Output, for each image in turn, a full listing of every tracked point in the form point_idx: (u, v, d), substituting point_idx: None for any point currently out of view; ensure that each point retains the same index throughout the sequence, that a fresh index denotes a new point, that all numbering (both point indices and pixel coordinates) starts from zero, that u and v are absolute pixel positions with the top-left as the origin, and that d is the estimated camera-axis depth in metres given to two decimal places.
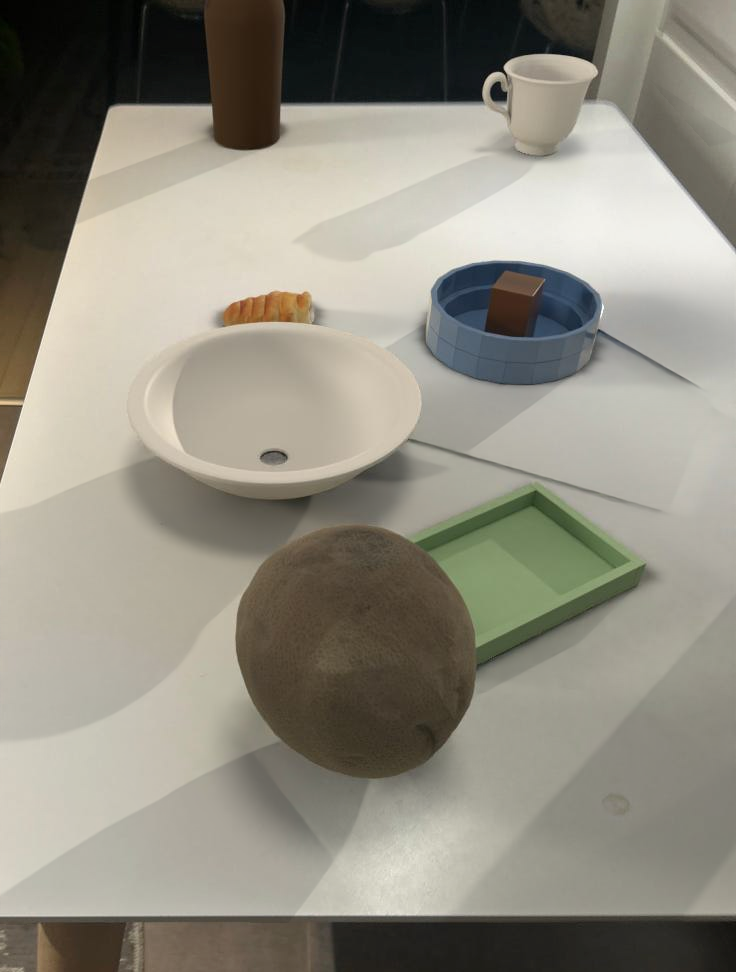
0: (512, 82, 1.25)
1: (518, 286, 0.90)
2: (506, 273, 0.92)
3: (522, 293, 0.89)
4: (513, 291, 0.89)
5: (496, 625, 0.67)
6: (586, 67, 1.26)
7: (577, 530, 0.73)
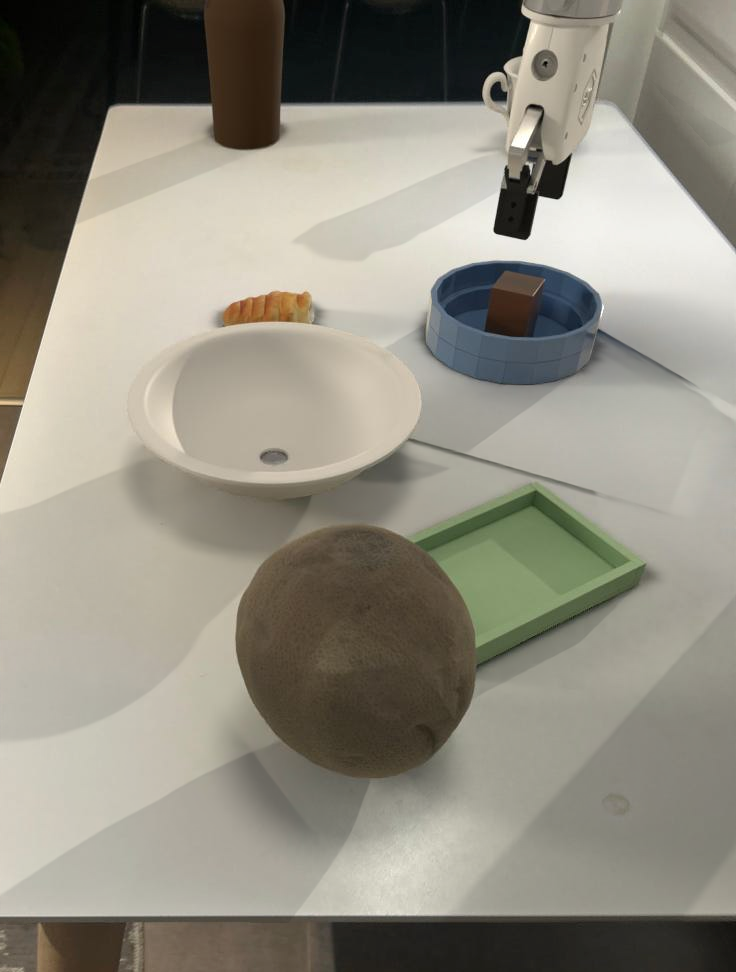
0: (512, 82, 1.25)
1: (518, 286, 0.90)
2: (506, 273, 0.92)
3: (522, 293, 0.89)
4: (513, 291, 0.89)
5: (496, 625, 0.67)
6: None
7: (577, 530, 0.73)
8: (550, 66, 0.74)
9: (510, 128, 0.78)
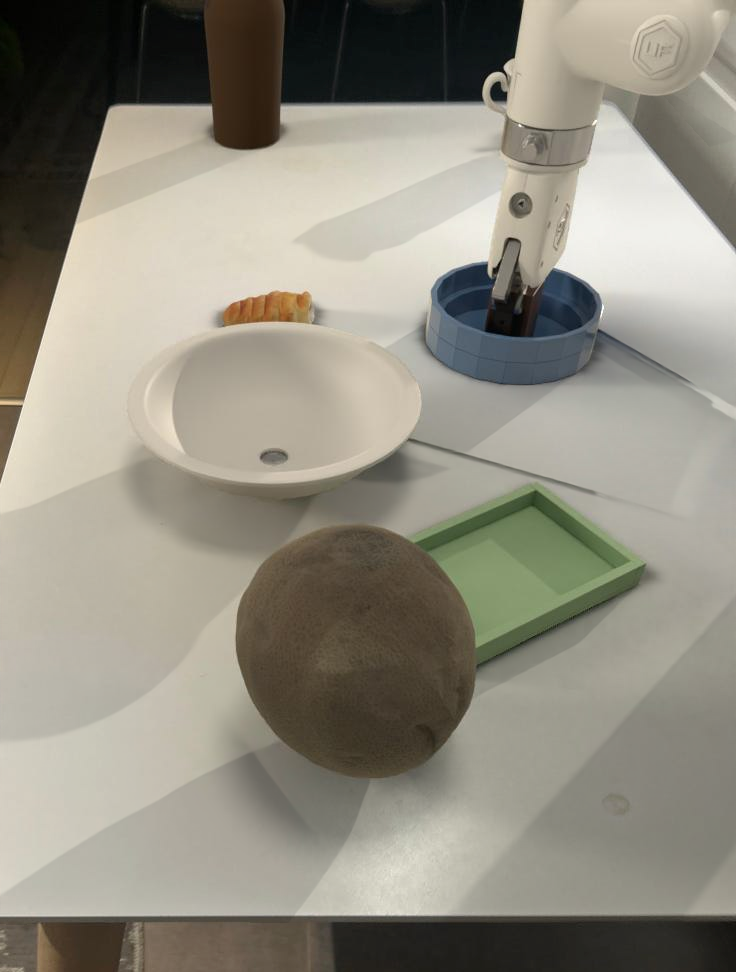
0: None
1: None
2: None
3: None
4: (513, 291, 0.89)
5: (496, 625, 0.67)
6: None
7: (577, 530, 0.73)
8: (526, 205, 0.82)
9: (491, 256, 0.85)
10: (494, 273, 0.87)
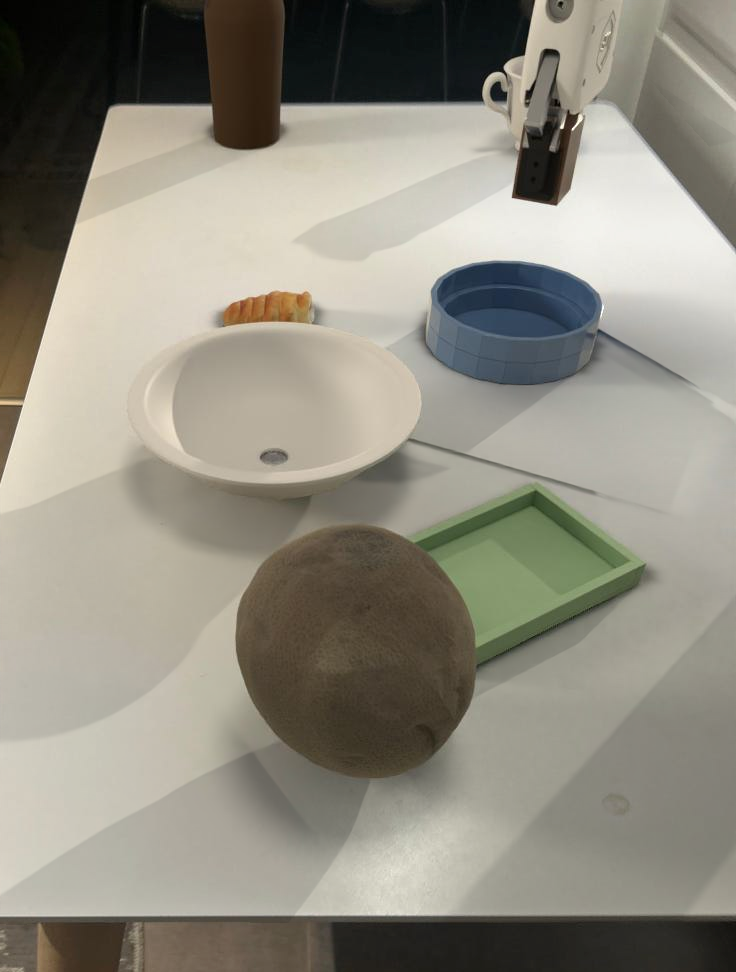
0: (512, 82, 1.25)
1: (554, 121, 0.78)
2: None
3: None
4: None
5: (496, 625, 0.67)
6: None
7: (577, 530, 0.73)
8: (566, 7, 0.70)
9: (524, 76, 0.73)
10: (527, 100, 0.75)
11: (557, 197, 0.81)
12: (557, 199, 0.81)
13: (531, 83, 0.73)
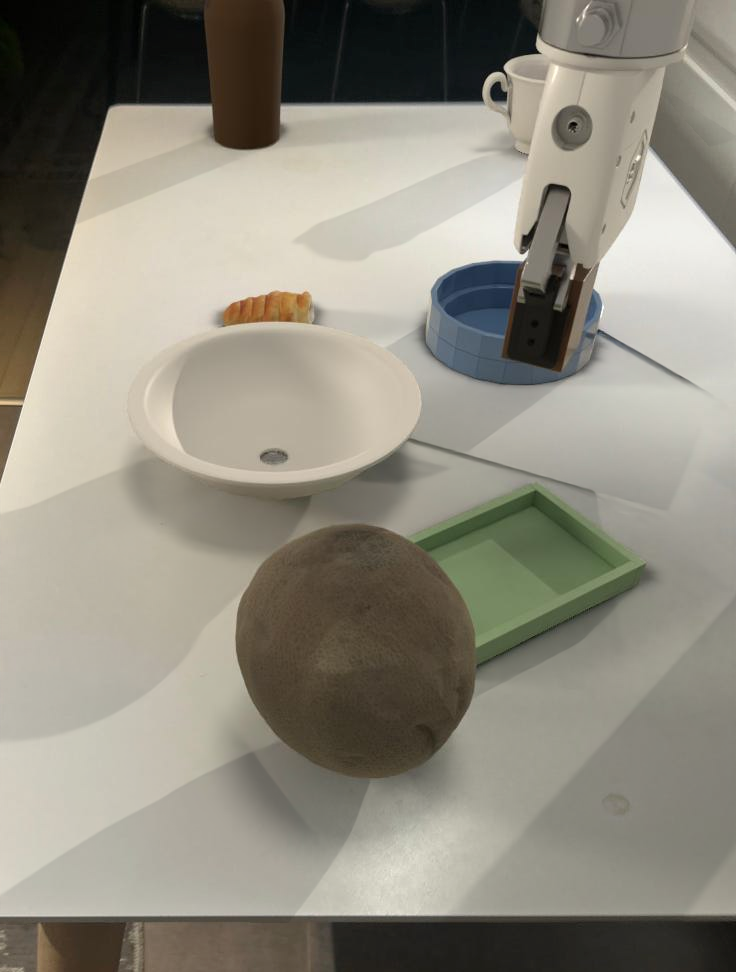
0: (512, 82, 1.25)
1: (560, 266, 0.58)
2: None
3: None
4: None
5: (496, 625, 0.67)
6: None
7: (577, 530, 0.73)
8: (580, 129, 0.49)
9: (520, 217, 0.53)
10: (524, 245, 0.54)
11: (562, 362, 0.60)
12: (562, 364, 0.60)
13: (530, 226, 0.53)
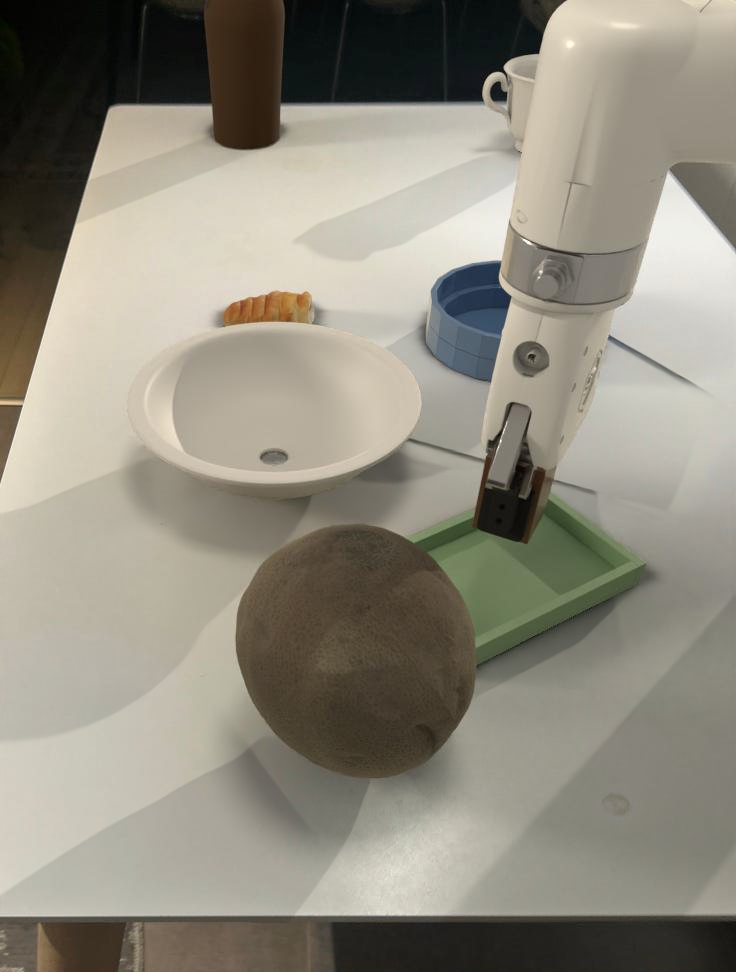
0: (512, 82, 1.25)
1: None
2: None
3: None
4: (517, 464, 0.62)
5: (496, 625, 0.67)
6: None
7: (577, 530, 0.73)
8: (539, 358, 0.54)
9: (486, 424, 0.57)
10: (491, 444, 0.59)
11: (528, 536, 0.65)
12: (528, 538, 0.65)
13: (495, 434, 0.57)
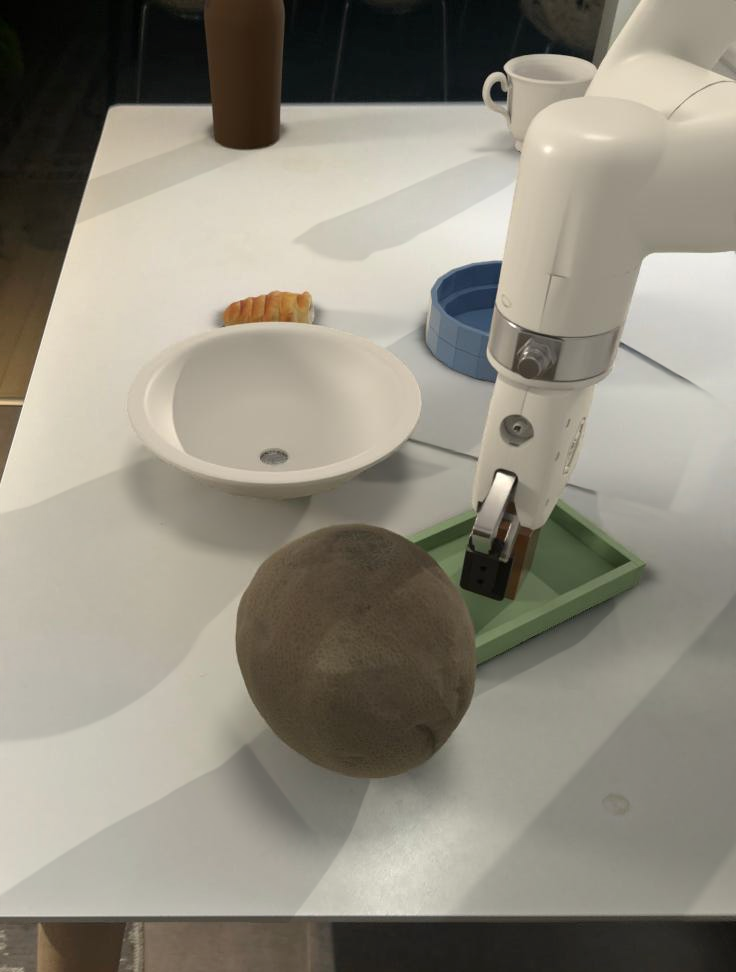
0: (512, 82, 1.25)
1: None
2: None
3: None
4: (503, 528, 0.65)
5: (496, 625, 0.67)
6: (586, 67, 1.26)
7: (577, 530, 0.73)
8: (524, 429, 0.57)
9: (476, 487, 0.61)
10: (481, 504, 0.63)
11: (514, 593, 0.69)
12: (514, 594, 0.69)
13: (484, 496, 0.61)
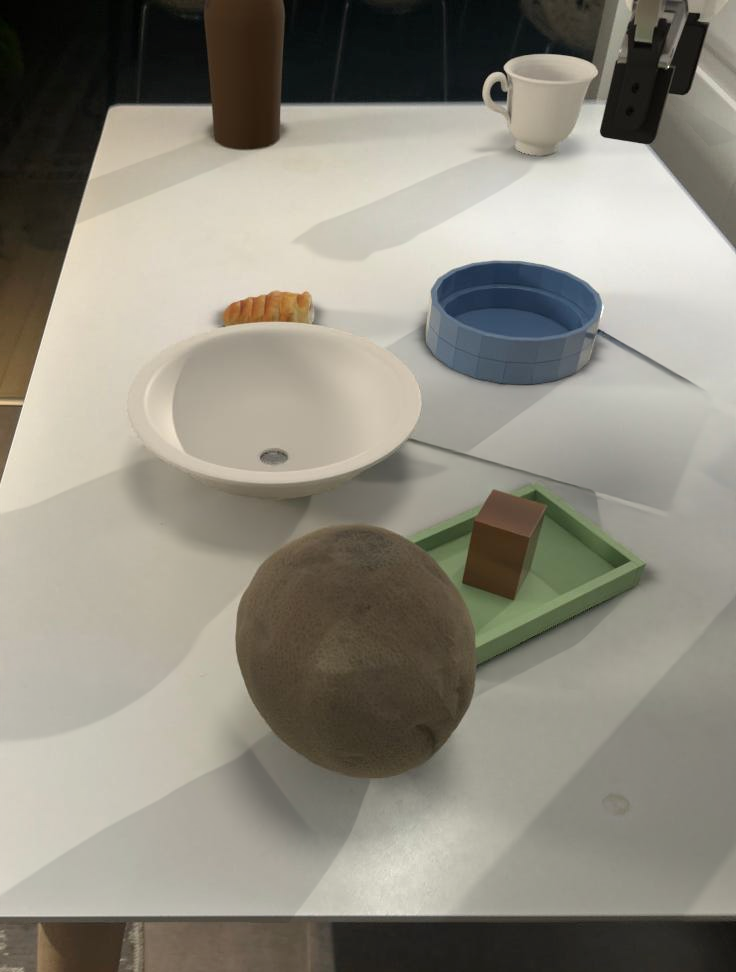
0: (512, 82, 1.25)
1: (510, 518, 0.66)
2: (494, 495, 0.68)
3: (515, 531, 0.65)
4: (503, 528, 0.65)
5: (496, 625, 0.67)
6: (586, 67, 1.26)
7: (577, 530, 0.73)
8: None
9: None
10: None
11: (514, 593, 0.69)
12: (514, 594, 0.69)
13: None
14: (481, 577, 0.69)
